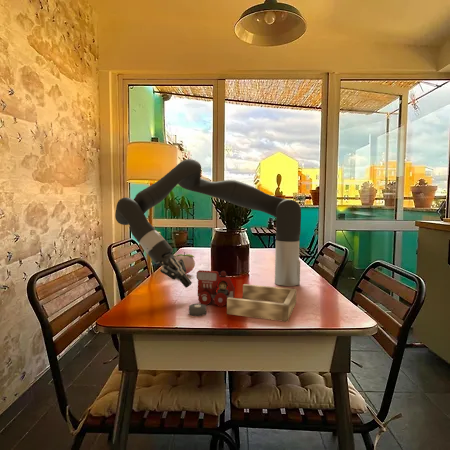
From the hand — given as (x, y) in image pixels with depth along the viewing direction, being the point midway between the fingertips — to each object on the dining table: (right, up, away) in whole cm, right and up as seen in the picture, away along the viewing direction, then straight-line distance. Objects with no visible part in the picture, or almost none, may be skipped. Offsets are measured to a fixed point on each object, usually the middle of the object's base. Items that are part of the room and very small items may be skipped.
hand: (189, 285), depth 110 cm
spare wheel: (+4, -6, -13) cm, 14 cm away
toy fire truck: (+9, -5, -2) cm, 10 cm away
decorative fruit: (-6, -2, +37) cm, 38 cm away
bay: (+23, -6, -7) cm, 25 cm away
